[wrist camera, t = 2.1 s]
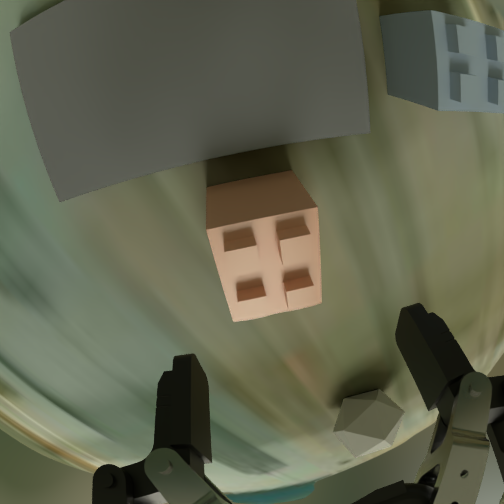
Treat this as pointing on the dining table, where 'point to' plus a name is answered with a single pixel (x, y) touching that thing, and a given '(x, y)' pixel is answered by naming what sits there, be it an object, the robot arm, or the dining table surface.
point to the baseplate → (184, 82)
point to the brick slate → (444, 61)
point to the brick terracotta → (265, 244)
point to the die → (368, 422)
